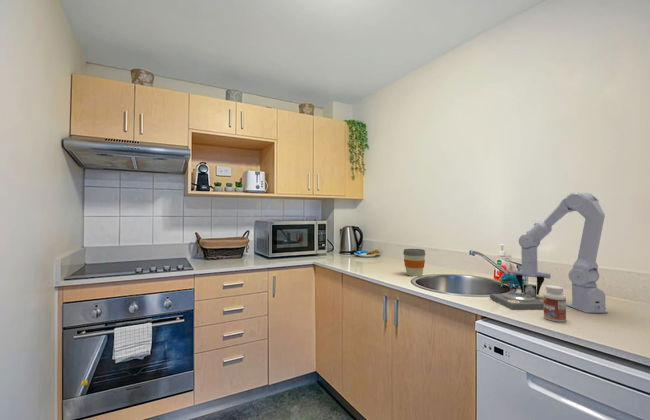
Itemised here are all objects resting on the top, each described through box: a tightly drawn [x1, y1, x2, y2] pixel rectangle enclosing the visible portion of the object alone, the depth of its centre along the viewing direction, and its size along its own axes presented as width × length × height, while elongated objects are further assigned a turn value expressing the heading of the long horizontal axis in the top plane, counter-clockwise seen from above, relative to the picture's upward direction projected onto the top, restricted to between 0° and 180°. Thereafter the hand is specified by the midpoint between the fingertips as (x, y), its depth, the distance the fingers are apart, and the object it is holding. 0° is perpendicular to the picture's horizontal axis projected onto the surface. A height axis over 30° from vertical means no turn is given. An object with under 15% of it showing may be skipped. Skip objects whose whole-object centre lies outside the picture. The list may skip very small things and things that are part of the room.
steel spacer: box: [523, 283, 537, 299], centre depth 131 cm, size 5×5×5 cm
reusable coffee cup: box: [402, 248, 426, 277], centre depth 179 cm, size 13×13×15 cm
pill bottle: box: [543, 284, 567, 323], centre depth 103 cm, size 6×6×11 cm
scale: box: [489, 292, 544, 311], centre depth 121 cm, size 15×14×3 cm
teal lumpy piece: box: [498, 272, 526, 290], centre depth 147 cm, size 11×6×10 cm
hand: (529, 293), depth 131 cm, fingers open, 5 cm apart
